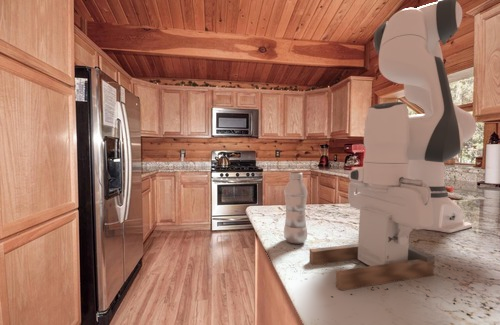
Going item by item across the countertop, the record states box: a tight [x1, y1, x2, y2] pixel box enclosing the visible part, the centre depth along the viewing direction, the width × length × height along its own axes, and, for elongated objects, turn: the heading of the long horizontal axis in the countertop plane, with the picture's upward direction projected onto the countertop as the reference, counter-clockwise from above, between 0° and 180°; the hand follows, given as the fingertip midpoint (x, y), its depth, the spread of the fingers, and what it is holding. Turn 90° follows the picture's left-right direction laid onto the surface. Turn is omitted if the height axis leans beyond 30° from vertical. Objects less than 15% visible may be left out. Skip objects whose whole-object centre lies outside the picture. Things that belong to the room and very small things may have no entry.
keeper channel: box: [309, 243, 436, 291], centre depth 53 cm, size 22×12×4 cm, turn 104°
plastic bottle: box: [283, 171, 308, 245], centre depth 68 cm, size 6×7×20 cm
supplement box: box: [357, 207, 410, 266], centre depth 54 cm, size 7×7×13 cm
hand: (383, 236), depth 54 cm, fingers closed on supplement box, 8 cm apart
